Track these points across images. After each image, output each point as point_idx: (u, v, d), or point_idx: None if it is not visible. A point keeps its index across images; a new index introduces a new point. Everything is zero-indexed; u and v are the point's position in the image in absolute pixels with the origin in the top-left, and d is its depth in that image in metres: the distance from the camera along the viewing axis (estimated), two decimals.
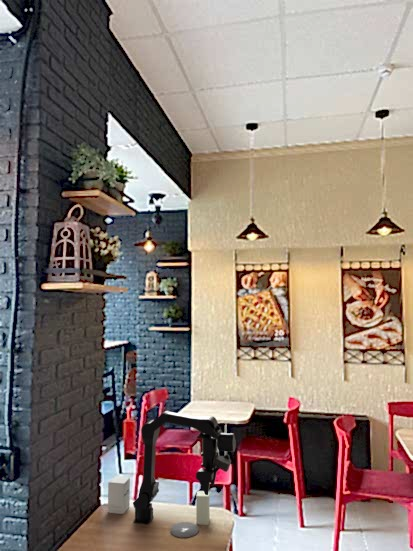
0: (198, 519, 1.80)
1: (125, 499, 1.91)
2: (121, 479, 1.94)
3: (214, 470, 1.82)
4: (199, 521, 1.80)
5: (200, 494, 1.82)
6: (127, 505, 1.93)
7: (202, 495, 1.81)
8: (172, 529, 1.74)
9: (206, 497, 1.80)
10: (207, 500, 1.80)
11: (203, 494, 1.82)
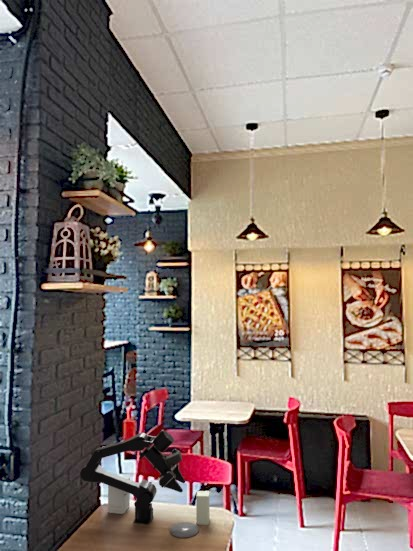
0: (198, 519, 1.80)
1: (125, 499, 1.91)
2: None
3: (176, 470, 1.89)
4: (199, 521, 1.80)
5: (200, 494, 1.82)
6: (127, 505, 1.93)
7: (202, 495, 1.81)
8: (172, 529, 1.74)
9: (206, 497, 1.80)
10: (207, 500, 1.80)
11: (203, 494, 1.82)
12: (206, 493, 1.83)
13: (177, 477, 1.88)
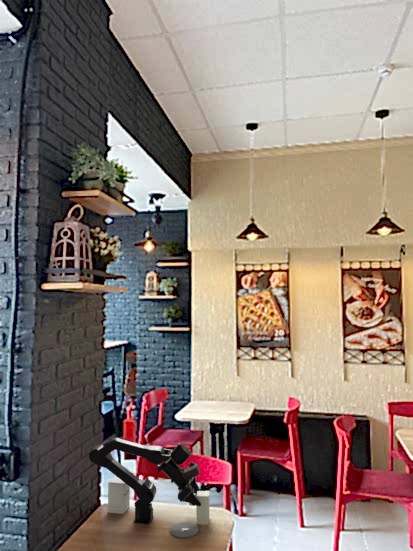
0: (198, 519, 1.80)
1: (125, 499, 1.91)
2: None
3: (193, 483, 1.88)
4: (199, 521, 1.80)
5: (200, 494, 1.82)
6: (127, 505, 1.93)
7: (202, 495, 1.81)
8: (172, 529, 1.74)
9: (206, 497, 1.80)
10: (207, 500, 1.80)
11: (203, 494, 1.82)
12: (206, 493, 1.83)
13: (194, 490, 1.88)
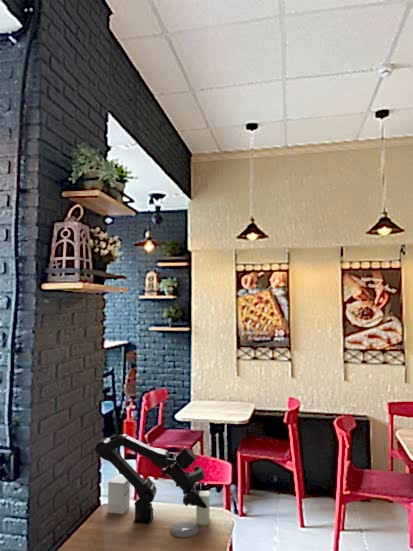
0: (198, 519, 1.80)
1: (125, 499, 1.91)
2: (121, 479, 1.94)
3: (198, 489, 1.86)
4: (199, 521, 1.80)
5: (200, 494, 1.82)
6: (127, 505, 1.93)
7: (202, 495, 1.81)
8: (172, 529, 1.74)
9: (206, 497, 1.80)
10: (207, 500, 1.80)
11: (203, 494, 1.82)
12: (206, 493, 1.83)
13: None
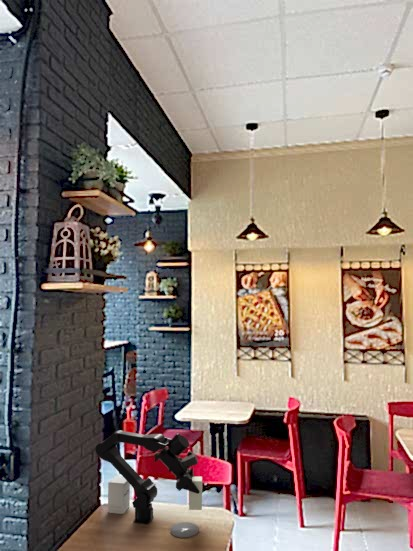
0: (191, 504, 1.78)
1: (125, 499, 1.91)
2: (121, 479, 1.94)
3: (190, 475, 1.84)
4: (192, 507, 1.78)
5: (193, 479, 1.80)
6: (127, 505, 1.93)
7: (195, 480, 1.79)
8: (172, 529, 1.74)
9: (199, 482, 1.78)
10: (200, 485, 1.78)
11: (196, 479, 1.80)
12: (199, 478, 1.81)
13: None
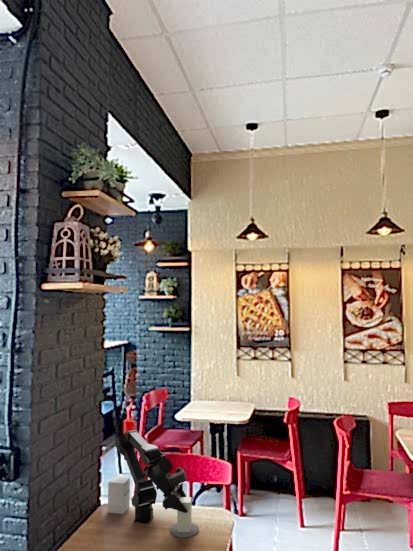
0: (179, 526, 1.73)
1: (125, 499, 1.91)
2: (121, 479, 1.94)
3: (179, 491, 1.80)
4: (180, 529, 1.72)
5: (181, 500, 1.75)
6: (127, 505, 1.93)
7: (184, 501, 1.74)
8: (172, 529, 1.74)
9: (187, 503, 1.73)
10: (188, 507, 1.73)
11: (184, 500, 1.75)
12: (188, 499, 1.76)
13: None
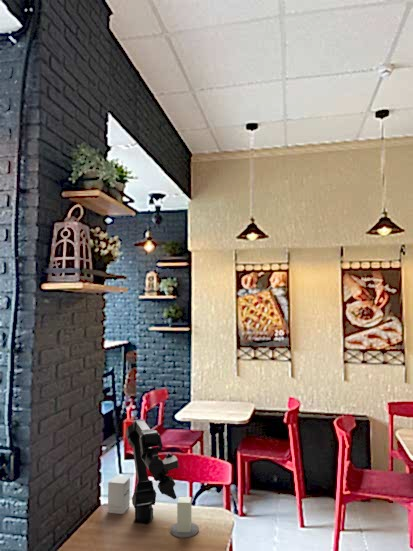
0: (179, 526, 1.73)
1: (125, 499, 1.91)
2: (121, 479, 1.94)
3: None
4: (180, 529, 1.72)
5: (181, 500, 1.75)
6: (127, 505, 1.93)
7: (184, 501, 1.74)
8: (172, 529, 1.74)
9: (187, 503, 1.73)
10: (188, 507, 1.73)
11: (184, 500, 1.75)
12: (188, 499, 1.76)
13: None
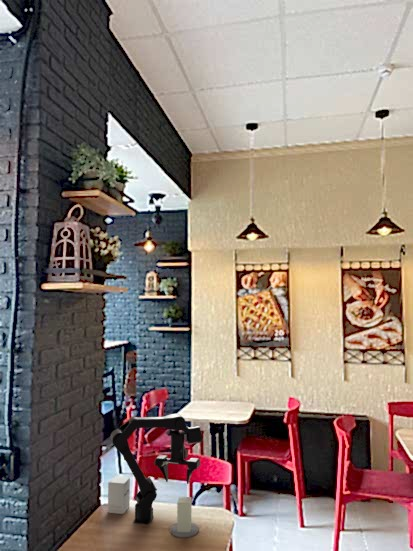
0: (179, 526, 1.73)
1: (125, 499, 1.91)
2: (121, 479, 1.94)
3: (166, 466, 1.91)
4: (180, 529, 1.72)
5: (181, 500, 1.75)
6: (127, 505, 1.93)
7: (184, 501, 1.74)
8: (172, 529, 1.74)
9: (187, 503, 1.73)
10: (188, 507, 1.73)
11: (184, 500, 1.75)
12: (188, 499, 1.76)
13: (166, 473, 1.90)
